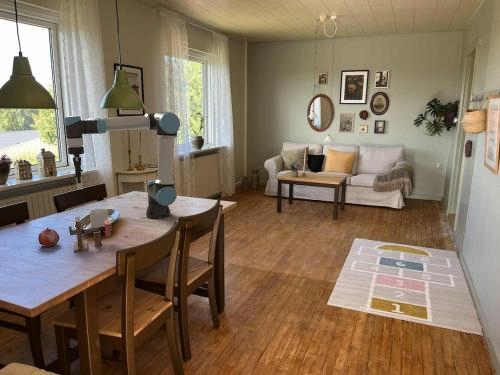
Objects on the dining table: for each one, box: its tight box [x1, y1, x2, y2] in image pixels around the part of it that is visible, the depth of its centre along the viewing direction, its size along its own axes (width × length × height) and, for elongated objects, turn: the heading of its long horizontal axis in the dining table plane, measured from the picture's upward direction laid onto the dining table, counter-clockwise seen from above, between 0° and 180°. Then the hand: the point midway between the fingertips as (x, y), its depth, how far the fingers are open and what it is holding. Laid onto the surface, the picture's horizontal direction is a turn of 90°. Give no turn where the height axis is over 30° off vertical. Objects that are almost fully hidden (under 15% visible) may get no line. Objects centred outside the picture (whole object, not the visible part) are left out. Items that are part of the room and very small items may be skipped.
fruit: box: [37, 226, 60, 248], centre depth 182 cm, size 9×10×10 cm
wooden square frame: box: [73, 216, 89, 253], centre depth 179 cm, size 6×12×14 cm, turn 25°
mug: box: [89, 208, 109, 228], centre depth 206 cm, size 12×9×11 cm
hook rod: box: [68, 219, 113, 237], centre depth 182 cm, size 19×6×7 cm, turn 115°
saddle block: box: [93, 232, 102, 248], centre depth 184 cm, size 3×5×6 cm, turn 25°
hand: (80, 186), depth 194 cm, fingers open, 13 cm apart
